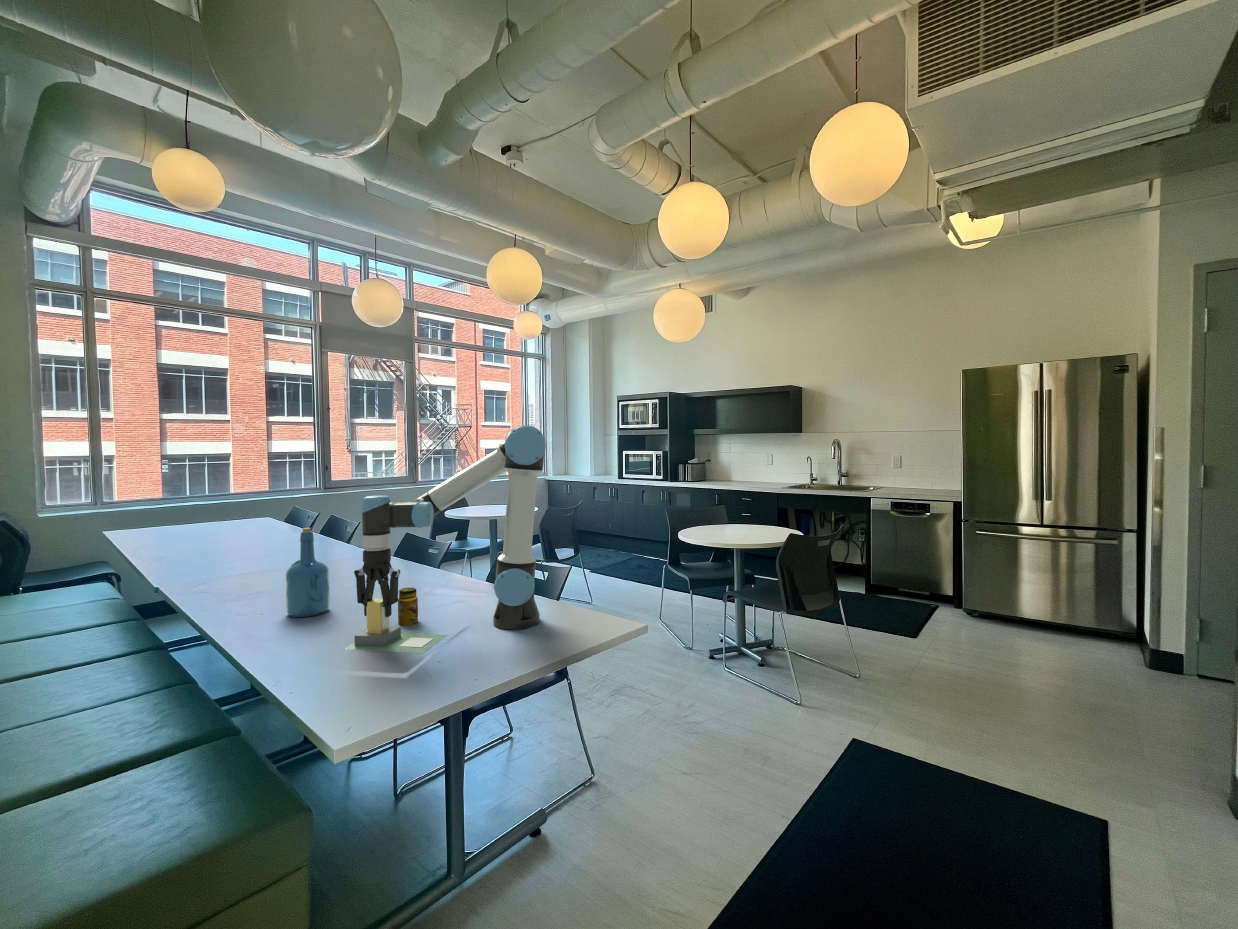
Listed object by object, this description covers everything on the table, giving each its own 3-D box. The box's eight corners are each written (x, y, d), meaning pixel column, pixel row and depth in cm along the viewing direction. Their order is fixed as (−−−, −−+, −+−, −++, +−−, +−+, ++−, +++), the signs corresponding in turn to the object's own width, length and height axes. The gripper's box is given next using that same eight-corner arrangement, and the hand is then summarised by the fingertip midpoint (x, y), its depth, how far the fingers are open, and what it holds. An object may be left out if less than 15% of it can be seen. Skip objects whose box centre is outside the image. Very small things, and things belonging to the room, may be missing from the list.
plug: (388, 638, 158) (387, 598, 158) (380, 643, 154) (380, 602, 154) (376, 638, 159) (375, 598, 158) (367, 643, 155) (367, 602, 154)
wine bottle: (337, 610, 190) (335, 527, 189) (298, 621, 178) (296, 532, 178) (316, 604, 197) (315, 524, 196) (278, 614, 186) (276, 529, 185)
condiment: (421, 626, 172) (420, 590, 172) (393, 631, 168) (393, 594, 167) (416, 620, 178) (415, 585, 178) (389, 625, 174) (388, 589, 173)
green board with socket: (447, 638, 161) (447, 625, 161) (422, 657, 146) (422, 642, 146) (374, 634, 165) (374, 621, 165) (343, 653, 150) (342, 638, 150)
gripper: (410, 546, 158) (411, 624, 159) (358, 545, 161) (359, 622, 161) (396, 551, 151) (398, 632, 151) (341, 550, 153) (343, 630, 154)
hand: (378, 627), depth 156 cm, fingers closed on plug, 4 cm apart
